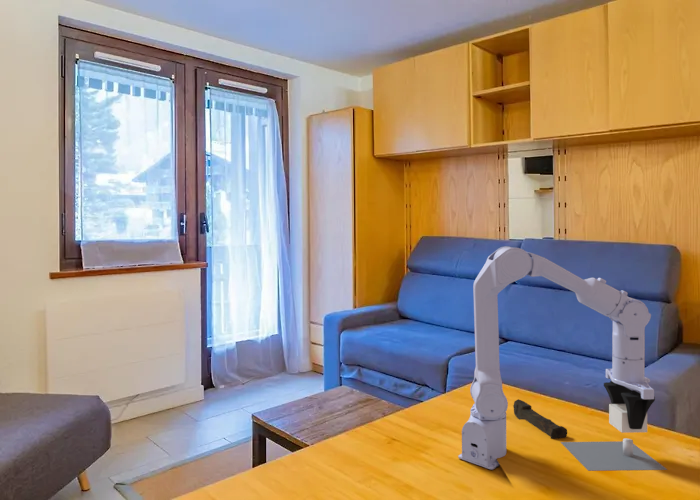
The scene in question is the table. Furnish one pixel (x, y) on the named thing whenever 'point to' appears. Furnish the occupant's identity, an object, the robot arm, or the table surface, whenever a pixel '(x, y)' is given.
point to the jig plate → (612, 456)
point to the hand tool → (538, 420)
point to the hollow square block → (622, 419)
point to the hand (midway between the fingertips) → (628, 423)
